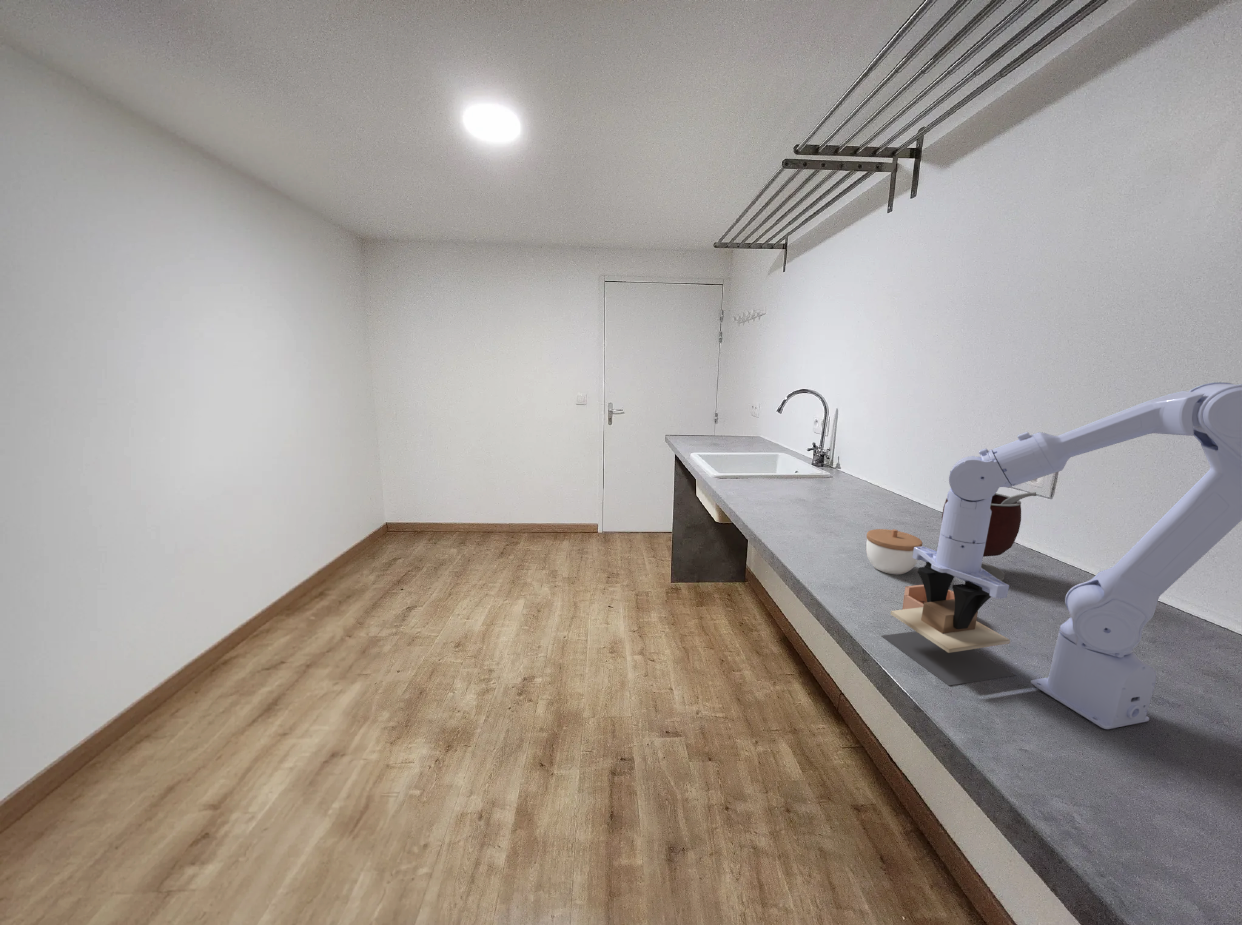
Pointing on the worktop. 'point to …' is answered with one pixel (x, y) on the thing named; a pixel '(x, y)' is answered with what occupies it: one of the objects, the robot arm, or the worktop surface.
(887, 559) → the lidded jar
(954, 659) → the mat
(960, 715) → the worktop surface
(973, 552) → the robot arm
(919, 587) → the bowl
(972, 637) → the cover
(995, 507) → the mate gourd
